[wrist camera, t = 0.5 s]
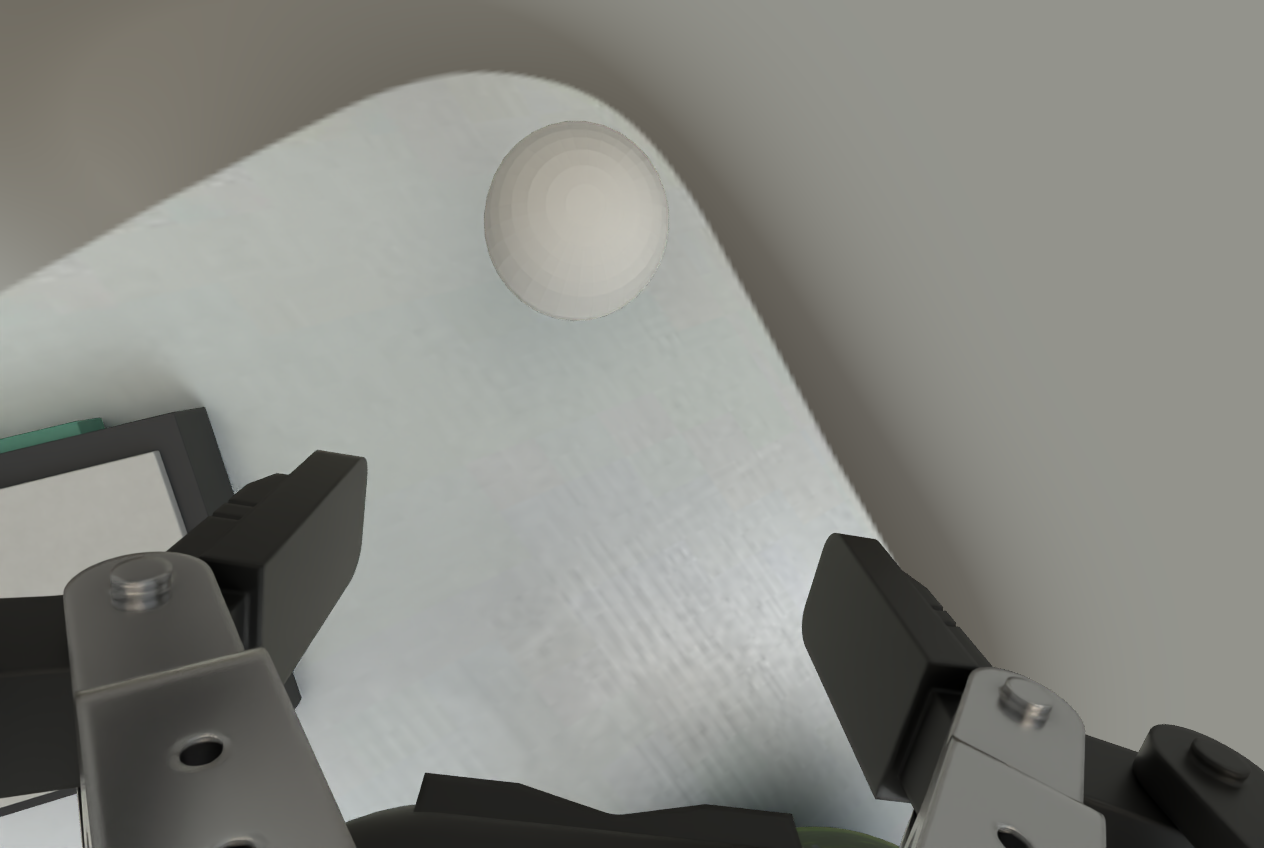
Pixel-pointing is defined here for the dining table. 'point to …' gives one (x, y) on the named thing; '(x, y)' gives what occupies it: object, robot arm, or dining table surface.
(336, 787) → the dining table surface
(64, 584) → the scale
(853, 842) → the decorative sphere
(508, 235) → the lollipop
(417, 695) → the dining table surface
